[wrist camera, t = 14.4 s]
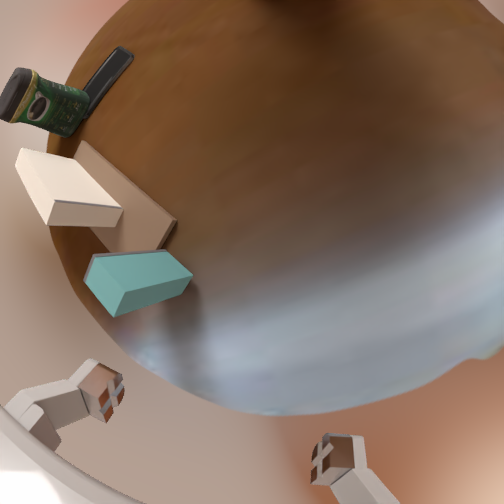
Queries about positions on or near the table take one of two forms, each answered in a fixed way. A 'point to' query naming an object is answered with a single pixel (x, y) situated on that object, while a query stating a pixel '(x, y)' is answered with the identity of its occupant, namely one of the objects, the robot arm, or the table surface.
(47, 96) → the coffee jar
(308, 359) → the table surface
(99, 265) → the teal rectangular block
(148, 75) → the table surface
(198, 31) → the table surface
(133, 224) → the stand
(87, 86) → the phone
